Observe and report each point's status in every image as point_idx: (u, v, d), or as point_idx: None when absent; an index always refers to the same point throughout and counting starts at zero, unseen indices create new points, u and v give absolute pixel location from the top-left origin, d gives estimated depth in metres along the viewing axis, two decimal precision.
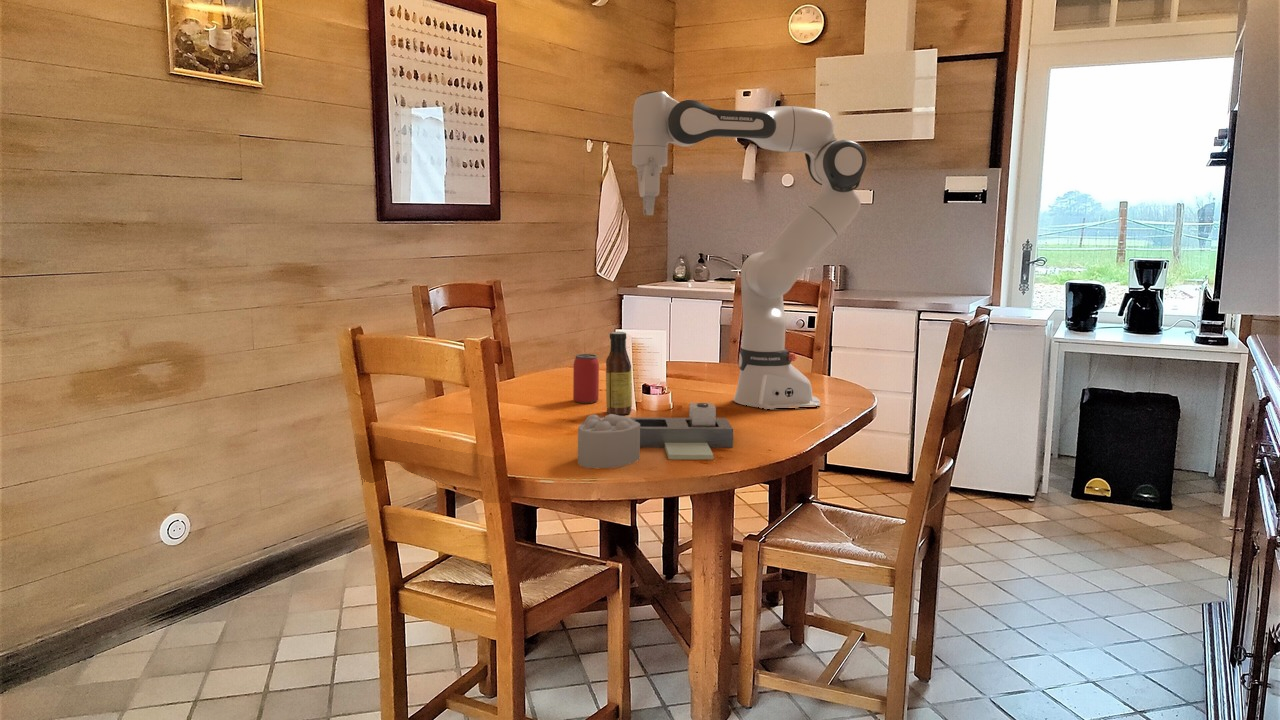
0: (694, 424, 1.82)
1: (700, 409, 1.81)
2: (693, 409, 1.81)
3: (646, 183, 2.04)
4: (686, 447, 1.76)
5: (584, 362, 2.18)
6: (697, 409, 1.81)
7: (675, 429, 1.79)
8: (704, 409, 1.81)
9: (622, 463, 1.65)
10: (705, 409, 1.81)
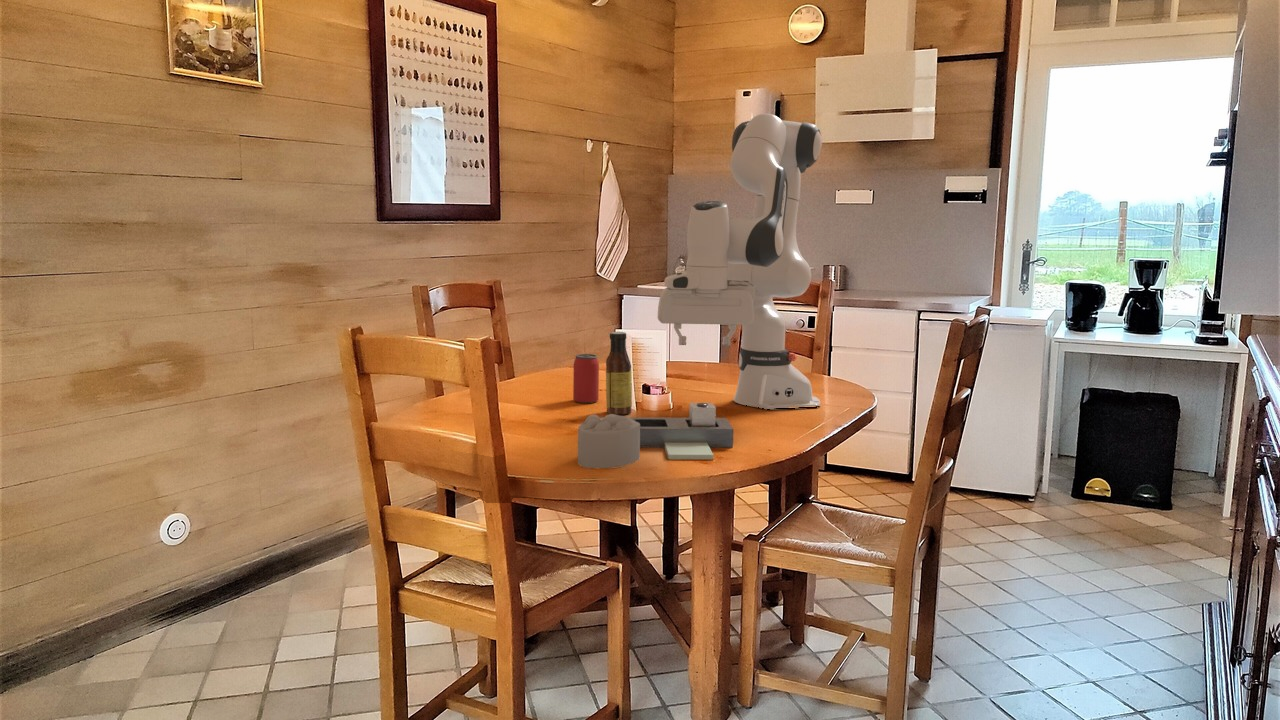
0: (694, 424, 1.82)
1: (700, 409, 1.81)
2: (693, 409, 1.81)
3: (753, 311, 1.80)
4: (686, 447, 1.76)
5: (584, 362, 2.18)
6: (697, 409, 1.81)
7: (675, 429, 1.79)
8: (704, 409, 1.81)
9: (622, 463, 1.65)
10: (705, 409, 1.81)
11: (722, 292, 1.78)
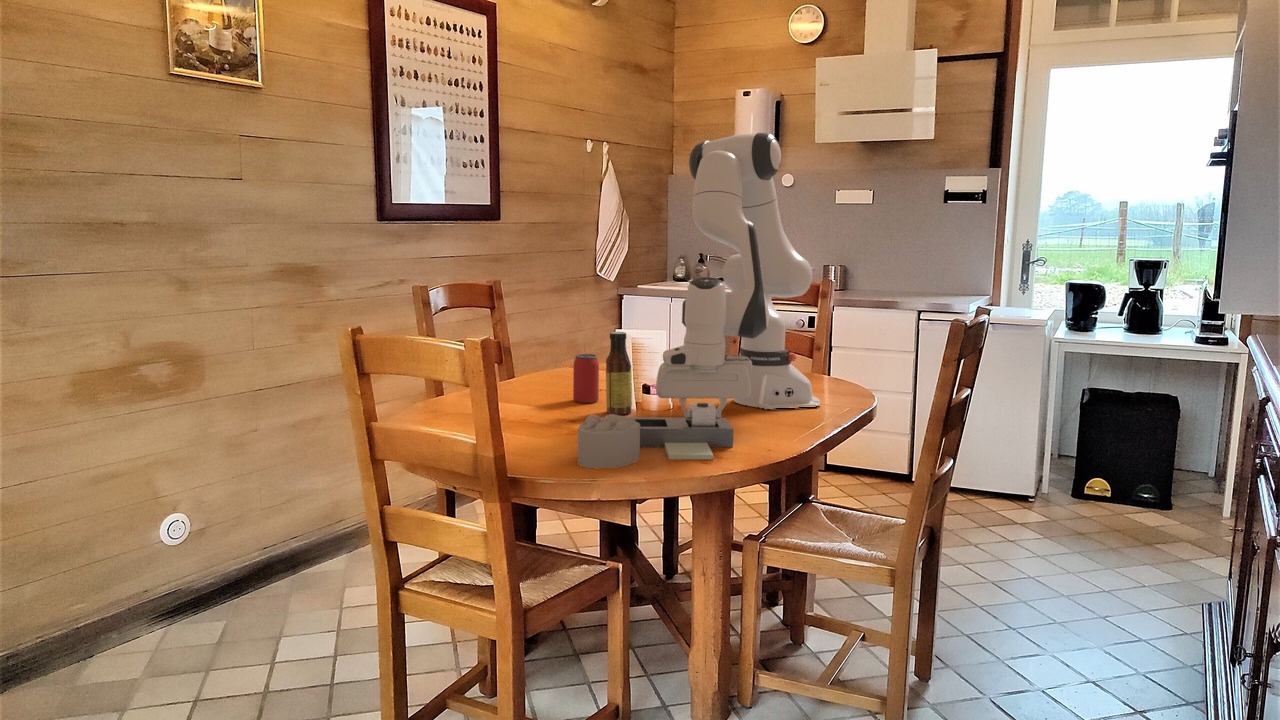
0: (694, 424, 1.82)
1: (700, 409, 1.81)
2: (693, 409, 1.81)
3: (750, 385, 1.82)
4: (686, 447, 1.76)
5: (584, 362, 2.18)
6: (697, 409, 1.81)
7: (675, 429, 1.79)
8: (704, 409, 1.81)
9: (622, 463, 1.65)
10: (705, 409, 1.81)
11: (719, 367, 1.81)
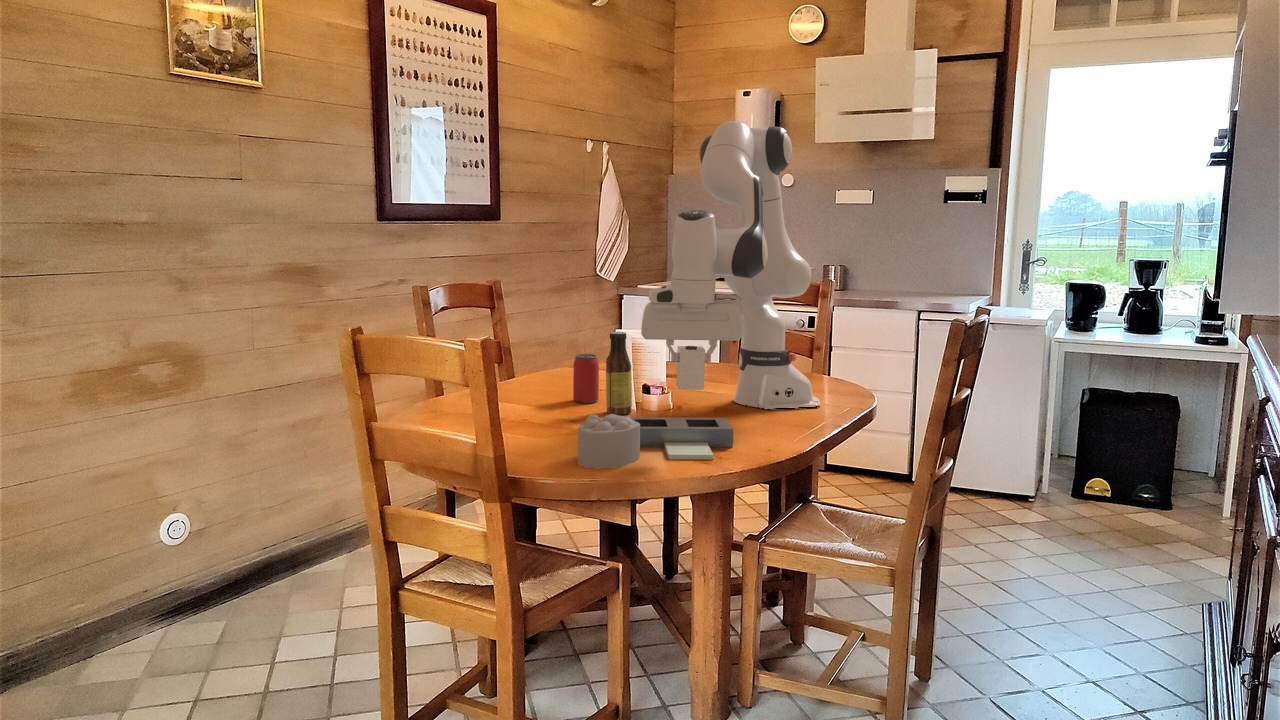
0: (681, 367, 1.70)
1: (688, 351, 1.69)
2: (681, 351, 1.69)
3: (742, 326, 1.70)
4: (686, 447, 1.76)
5: (584, 362, 2.18)
6: (685, 351, 1.69)
7: (675, 429, 1.79)
8: (692, 351, 1.69)
9: (622, 463, 1.65)
10: (694, 351, 1.69)
11: (709, 306, 1.69)
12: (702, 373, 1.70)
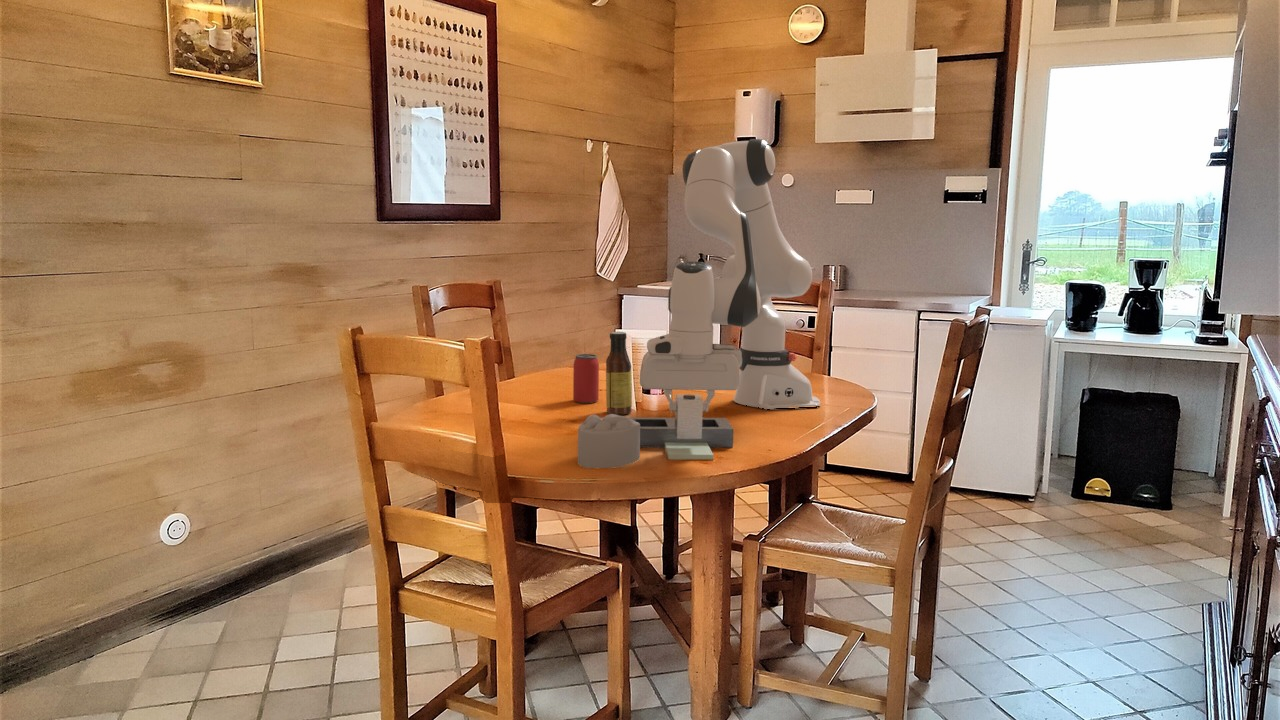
0: (679, 417, 1.71)
1: (686, 401, 1.71)
2: (679, 401, 1.71)
3: (739, 376, 1.72)
4: (686, 447, 1.76)
5: (584, 362, 2.18)
6: (683, 401, 1.71)
7: None
8: (690, 401, 1.71)
9: (622, 463, 1.65)
10: (691, 401, 1.71)
11: (707, 357, 1.71)
12: (700, 422, 1.72)
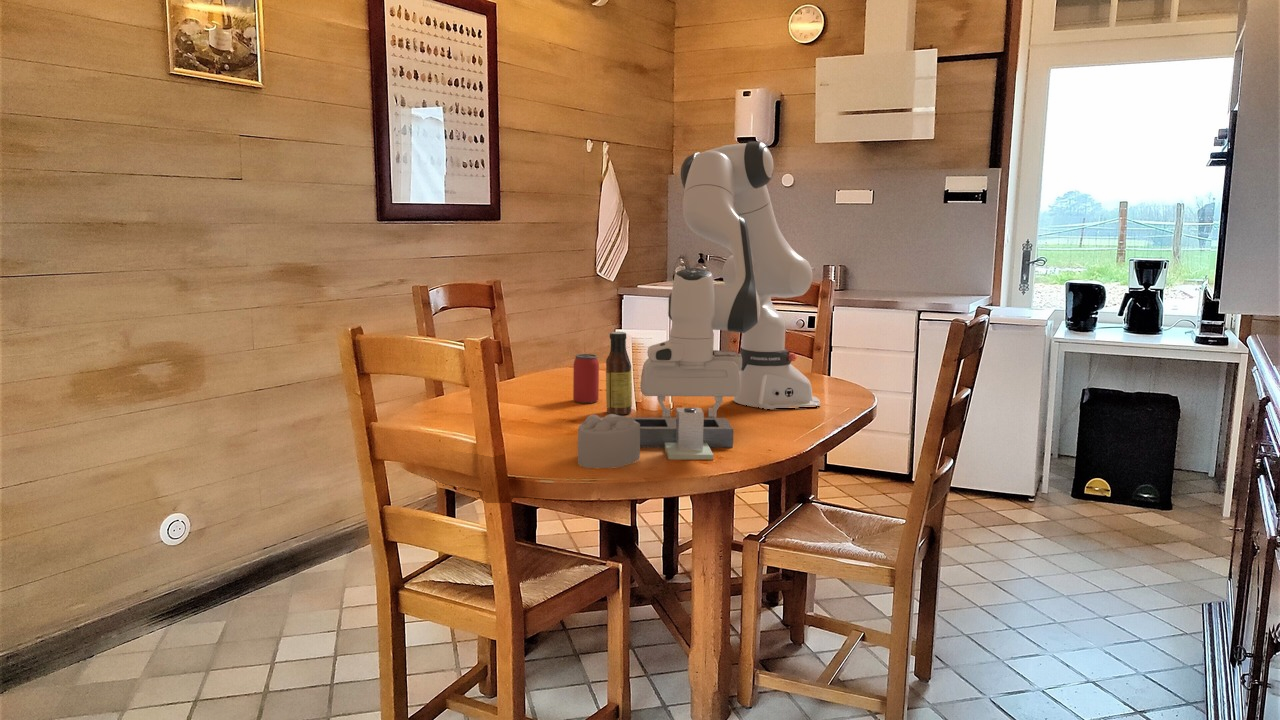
0: (680, 430, 1.72)
1: (687, 414, 1.72)
2: (680, 414, 1.71)
3: (740, 382, 1.72)
4: None
5: (584, 362, 2.18)
6: (684, 414, 1.72)
7: (675, 429, 1.79)
8: (691, 414, 1.72)
9: (622, 463, 1.65)
10: (692, 414, 1.72)
11: (707, 363, 1.71)
12: (701, 436, 1.72)
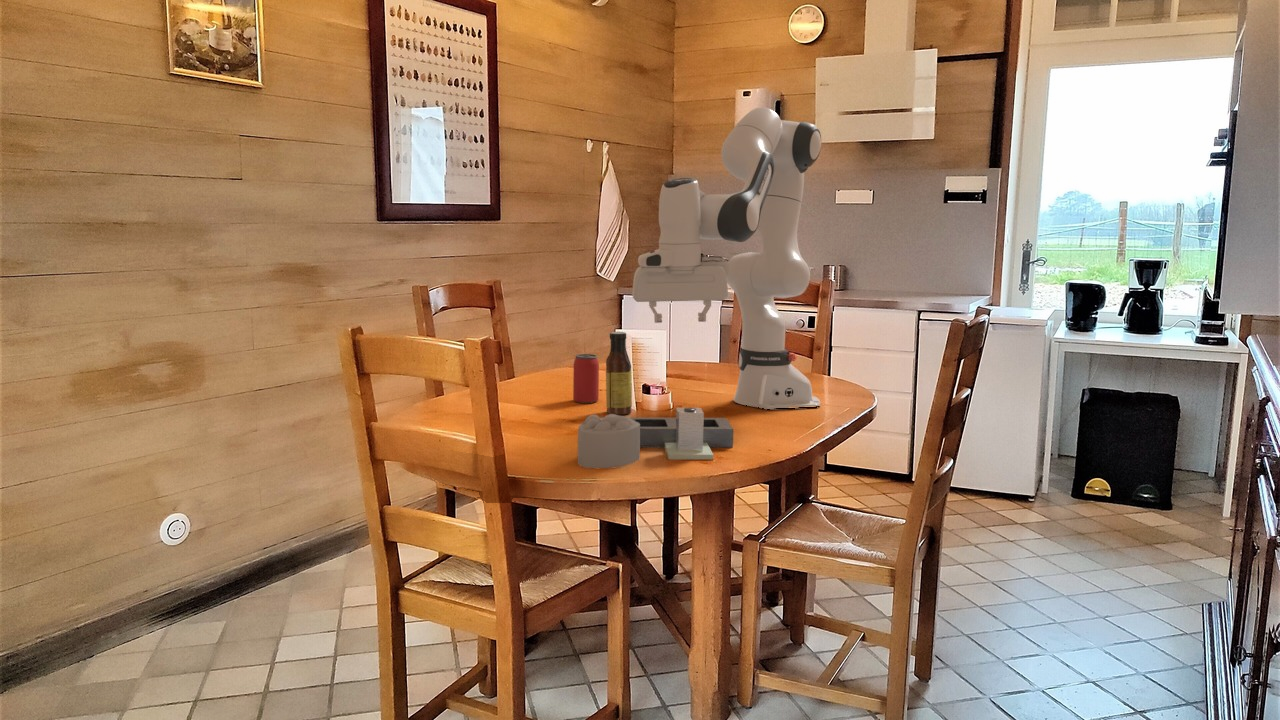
0: (680, 430, 1.72)
1: (687, 414, 1.72)
2: (680, 414, 1.71)
3: (727, 286, 1.81)
4: None
5: (584, 362, 2.18)
6: (684, 414, 1.72)
7: (675, 429, 1.79)
8: (691, 414, 1.72)
9: (622, 463, 1.65)
10: (692, 414, 1.72)
11: (695, 268, 1.79)
12: (701, 436, 1.72)
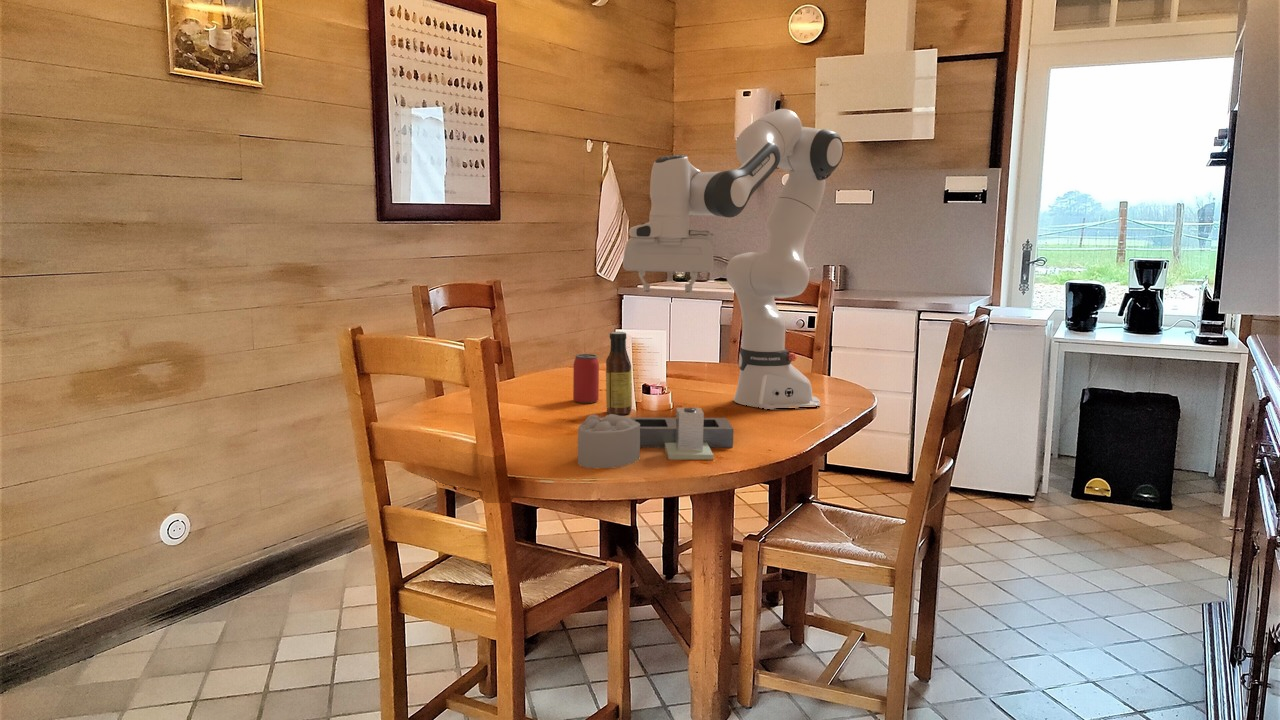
0: (680, 430, 1.72)
1: (687, 414, 1.72)
2: (680, 414, 1.71)
3: (713, 259, 1.90)
4: None
5: (584, 362, 2.18)
6: (684, 414, 1.72)
7: (675, 429, 1.79)
8: (691, 414, 1.72)
9: (622, 463, 1.65)
10: (692, 414, 1.72)
11: (683, 241, 1.88)
12: (701, 436, 1.72)
